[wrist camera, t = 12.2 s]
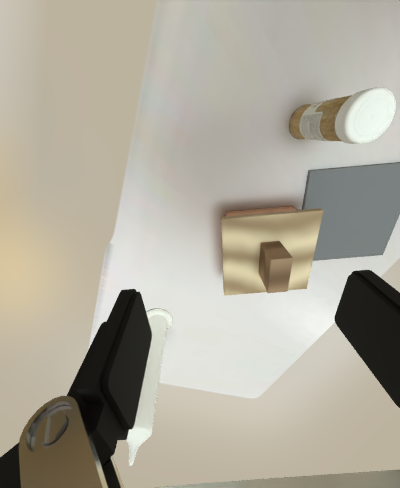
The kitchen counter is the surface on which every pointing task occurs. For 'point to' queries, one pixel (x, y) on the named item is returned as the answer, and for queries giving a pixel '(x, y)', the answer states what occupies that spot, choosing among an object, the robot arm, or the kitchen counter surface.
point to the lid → (269, 250)
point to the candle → (149, 382)
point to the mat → (354, 209)
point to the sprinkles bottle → (346, 117)
